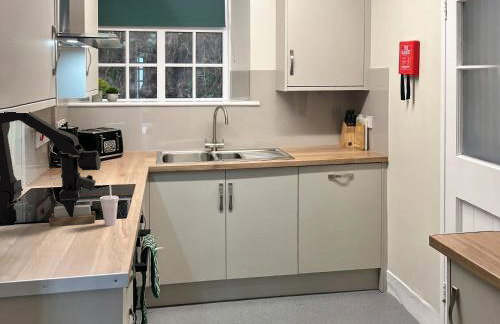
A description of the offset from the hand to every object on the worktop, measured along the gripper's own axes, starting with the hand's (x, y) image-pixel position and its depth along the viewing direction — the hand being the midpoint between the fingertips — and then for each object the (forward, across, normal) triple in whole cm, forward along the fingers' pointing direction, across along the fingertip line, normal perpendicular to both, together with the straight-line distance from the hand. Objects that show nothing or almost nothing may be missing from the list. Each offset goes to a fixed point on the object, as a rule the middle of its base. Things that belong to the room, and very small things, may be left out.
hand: (72, 213), depth 190 cm
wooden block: (+3, 0, 0) cm, 3 cm away
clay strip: (+2, 0, 0) cm, 2 cm away
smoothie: (+3, -7, -13) cm, 15 cm away
